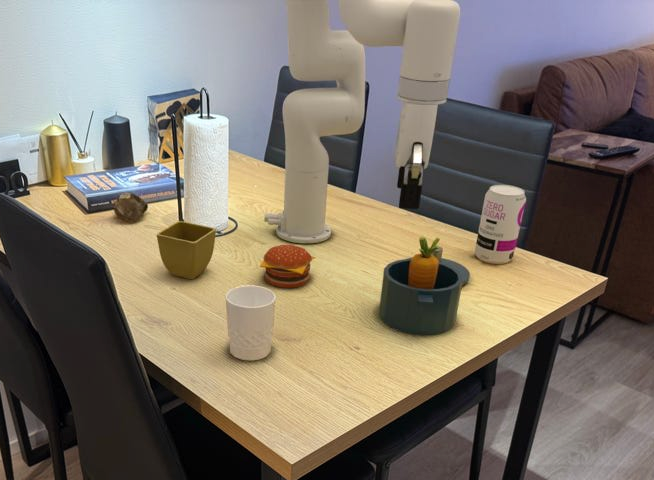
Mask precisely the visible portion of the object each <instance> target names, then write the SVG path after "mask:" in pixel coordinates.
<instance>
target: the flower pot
mask: <svg viewBox="0 0 654 480" xmlns="http://www.w3.org/2000/svg"><path fill="white" fill-rule="evenodd" d="M216 233H217V228H215V227H211V226H207V225H203V224H198V223H192V222H188V221H182V220H178V221H176V222H174V223H172V224H171V225H169V226H168V227H166V228H164V229H162V230H160V231H159V232H157V233H156V239H157V245H158V250H159V255H160V259H161V261H162V264H163V265H164V267H165V269H166V270H167V271H168V273H170V275H173V276H176V277H180V278H185V279H189V280H194V279H195V278H197V277H198V276H199V275H201V274H202V273H203V272H205V270H206V269H207V267H208V266H209V264H210V262H211V259H212V257H213V255H214V254H213V253H214V249H215V241H216Z"/></svg>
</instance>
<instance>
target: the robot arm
mask: <svg viewBox="0 0 654 480" xmlns="http://www.w3.org/2000/svg"><path fill="white" fill-rule="evenodd" d="M284 1H285V6H286V26H287V27H286V28H287V29H286V30H287V31H286V32H287V60H288V68H289V72H290V74H291V77H292V78H293V79H295V80H297V81H301V82H329V81H330V82H331V81H333V82H335V81H336V87H314V88H313V87H312V88H311V87H310V88H301V89H297V90H294V91H292V92H290V93H289V94H288V95H287V96H286V97H285V98H284V100H283V102H282V103H283V104H282V121H283V128H284V130H283V131H284V138H285V140H284V141H285V156H284V157H285V163H284V165H285V166H284V191H283V192H284V195H283V210H282V212H278V214H275V213H266V212H264V219H263V221H264V222H265V223H267V225H268V226H269V225H270V226H276V228H275V229H276V231H275V233H276V236H277V237H279V238H280V239H282V240H283V241H285V242H290V243H293V244H317V243H323V242H324V241H326V240H328V239H329V238H331V236H332V229H331V227H329V226H328V225H327V224H326V212H327V199H328V198H327V197H328V196H327V195H328V182H329V171H330V170H329V169H330V168H329V167H330V158H329V153H328V151H327V150H326V147H325V146H324V145H323V143H322V142H321V139H320V138H321V137H326V136H340V135H341V136H342V135H343V136H344V135H349V134H354V133H356V132H357V131H359V130H360V129H361V127H362V125H363V123H364V119H365V109H366V107H365V105H366V50H365V47H369V48H371V47H372V48H380V47H382V48H383V47H402V54H401V63H400V71H399V78H398V86H397V87H398V88H397V95H396V99H397V100H399V101H401V102H402V104H401V109H400V115H399V121H398V128H397V137H396V142H395V143H396V144H395V150H394V160H395V166H396V167H397V168H398V175H397V182H396V187H397V189H400V193H399V201H398V207H399V208H400V209H406V210H407V209H409V210H418V209H419V208H420V204H421V198H422V197H421V196H422V191H423V175H424V170H425V169H428V165H429V162H430V156H431V151H432V146H433V139H434V133H435V128H436V121H437V114H438V108H439V105H443V104H445V103H446V102H447V98H448V93H449V86H450V81H451V80H450V79H451V73H452V68H453V62H454V57H455V49H456V43H457V37H458V32H459V31H458V30H459V25H460V18H461V6H460V4H459V3H458V2H457V1H455V0H337V4H338V11H339V16H340V18H341V21H342V23H343V25H344V26H345V27H346V29H347V30H346V29H342V30H341V29H340V30H339V29H337V30H332V29H331V26H330V4H329V0H284Z"/></svg>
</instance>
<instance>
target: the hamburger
mask: <svg viewBox="0 0 654 480" xmlns="http://www.w3.org/2000/svg"><path fill="white" fill-rule="evenodd" d="M314 259H316V256H313V255H311V254H310V253H309V252H308V251H307V249H306V248H304V247H302V246H300V245H299V246H298V245H295V244H279V245H275V246H273V247H270V248H269V249H268V250H267V251H266V252H265V253H264V255H263V259H262V261H261V263H260V265H259V268H264V269H265V272H264V275H263V276H264V279H265V280H266V282H267V283H268V284H270V285H271V286H273V287H278V288H284V289H285V288H286V289H292V288H299V287H302V286H305V285H307V283H309V282H310V278H311V276H310V275H311V274H310V271H311V262H312V261H313V260H314Z"/></svg>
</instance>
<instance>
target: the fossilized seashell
mask: <svg viewBox="0 0 654 480" xmlns="http://www.w3.org/2000/svg"><path fill="white" fill-rule="evenodd" d="M148 208H149V204H147V202H146V201H145V200H144V199H143V198H142V197H140V195H137V194H135V193H132V192H123V193H121V194H119V195H118V197H117V199H116V200H115V201H114V203H113V211H114V214H115V216H116V217H117V218H119V219H121V220H122V221H125V222H136V221H138V220H140V219H141V218H142V216H143V214H144V213H146V212H147V211H148Z"/></svg>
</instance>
